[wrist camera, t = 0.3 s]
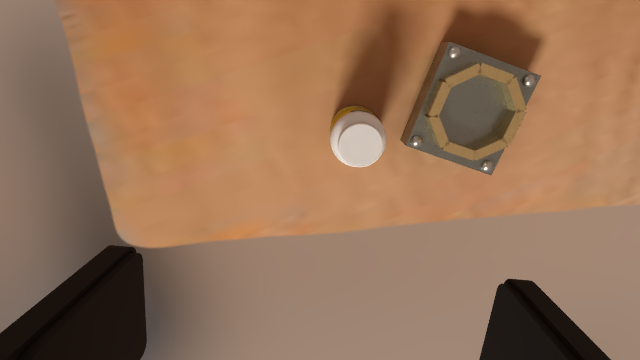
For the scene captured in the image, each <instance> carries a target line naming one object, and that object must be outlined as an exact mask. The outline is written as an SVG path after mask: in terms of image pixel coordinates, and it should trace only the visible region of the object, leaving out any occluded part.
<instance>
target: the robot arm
mask: <svg viewBox="0 0 640 360" xmlns="http://www.w3.org/2000/svg"><path fill="white" fill-rule="evenodd" d="M146 342H147V338H146V318H145V297H144V278H143V259H142V255H141V254H140V253H136V250H135V248H133V247H124V246H113V245H110V246H108V247H106V248H105V249H104V250H103V251H101V252H100V253H99V254H98V255H97V256H95V257H94V258H93V259H92V260H90V261H89V262H88V263H87V264H86V265H84V266H83V267H82V268H81V269H79V270H78V271H77V272H75V273H74V274H73V275H72V276H71V277H69V278H68V279H67V280H66V281H64V282H63V283H62V284H61V285H59V286H58V287H57V288H56V289H55V290H53V291H52V292H51V293H49V294H48V295H47V296H46V297H45V298H43V299H42V300H41V301H40V302H38V303H37V304H36V305H35V306H33V307H32V308H31V309H30V310H28V311H27V312H26V313H25V314H24V315H22V316H21V317H20V318H19V319H17V320H16V321H15V322H14V323H12V324H11V325H10V326H9V327H8V328H6V329H5V330H4V331H3V332H1V333H0V360H140V359H141V357H142V356H143V354H144V351H145V348H146ZM480 360H610V358H608V356H606V354H605V353H604V352H602V350H601V349H600V348H598V346H597V345H596V344H595V343H594V342H593V341H592V340H591V339H590V338H589V337H588V336H587V335H586V334H585V333H584V332H583V331H582V330H581V329H580V328H579V327H578V326H577V325H576V324H575V323H574V322H573V321H572V320H571V319H570V318H569V317H568V316H567V315H566V314H565V313H564V312H563V311H562V310H561V309H560V308H559V307H558V306H557V305H556V304H555V303H554V302H553V301H552V300H551V299H550V298H549V297H548V296H547V295H546V294H545V293H544V292H543V291H542V290H541V289H540V288H539V287H538V286H537V285H536V284H535V283H534V282H533V281H529V280H517V279H507V280H506V281H505V282H504V284H500V285H499V286H498V288H497V292H496V296H495V300H494V304H493V308H492V312H491V316H490V320H489V324H488V328H487V332H486V336H485V340H484V344H483V348H482V352H481V356H480Z"/></svg>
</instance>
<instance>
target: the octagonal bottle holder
mask: <svg viewBox="0 0 640 360" xmlns="http://www.w3.org/2000/svg"><path fill="white" fill-rule="evenodd" d="M540 77H541V76H540V75H538V74H535V73H532V72H530V71H527V70H524V69H522V68H519V67H516V66H514V65H511V64H508V63H506V62H503V61H500V60H498V59H495V58H492V57H490V56H487V55H484V54H482V53H479V52H476V51H474V50H471V49H468V48H466V47H463V46H460V45H458V44H455V43H452V42H450V41H449V42H444V43H440V46H439V48H438V51H437V53H436V55H435V58H434V60H433V63H432V65H431V67H430V70H429V72H428V75H427V77H426V80H425V82H424V84H423V87H422V89H421V92H420V94H419V97H418V99H417V101H416V104H415V106H414V109H413V111H412V113H411V116H410V118H409V121H408V123H407V126H406V128H405V130H404V133H403V135H402V138H401V141H402V142H403V143H404V144H405V145H406V146H409V147H411V148H414V149H417V150H420V151H423V152H426V153H429V154H432V155H434V156H437V157H440V158H443V159H446V160H449V161H452V162H455V163H457V164H460V165H463V166H466V167H469V168H472V169H475V170H477V171H480V172H483V173H486V174H489V175H492V173H493V171H494V169H495V167H496V165H497V163H498V161H499V159H500V157H501V155H502V153H503V151H504V149H505V148H506V147H508V145H507V143H508V144H511V142H512V140H513V138H514V136H515V134H516V132H517V130H518V128H519V126H520V124H521V122H522V120H523V118H524V116H525V114H526V112H524V110H526V109H527V108H526V105H527V103H528V101H529V99H530V97H531V95H532V93H533V91H534V89H535V87H536V85H537V83H538V81H539V79H540Z"/></svg>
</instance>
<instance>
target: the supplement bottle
mask: <svg viewBox="0 0 640 360" xmlns="http://www.w3.org/2000/svg"><path fill="white" fill-rule="evenodd" d="M330 143H331V147H332V150H333V152H334V154H335V156H336V157H337V158H338V159H339V160H340V161H341V162H343V163H344V164H346V165H349V166H353V167H366V166H369V165H371V164H372V163H374V162H375V161H376V160H377V159H378V158H379V157H380V156H381V154H382V153H383V151H384V149H385V145H386V133H385V130H384V127H383V125H382V123H381V122H380V121H379V119H378V118H377V117H376V116H375V115H374V114H373V113H372V112H371V111H370V110H369V109H367V108H365V107H362V106H358V105H351V106H347V107H345V108H343V109H341V110H340V111H338V112H337V114H336V115H335V116H334V118H333V120H332V122H331V127H330Z"/></svg>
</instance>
